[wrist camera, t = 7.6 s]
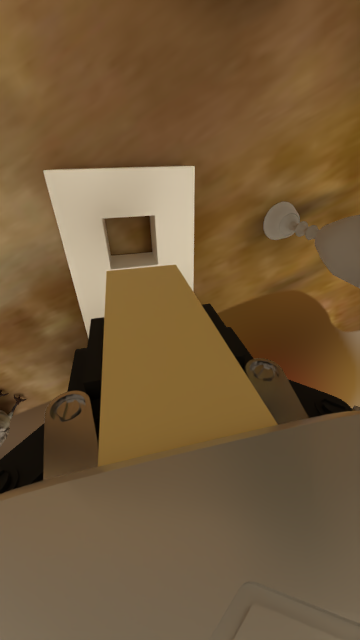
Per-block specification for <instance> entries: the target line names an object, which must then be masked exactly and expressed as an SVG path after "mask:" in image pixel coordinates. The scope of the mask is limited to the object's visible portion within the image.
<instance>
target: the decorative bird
mask: <svg viewBox="0 0 360 640" xmlns="http://www.w3.org/2000/svg"><path fill="white" fill-rule="evenodd" d="M1 391H2V390H1ZM1 391H0V397H1V396H5V395H7V394H8V393H7V394H2V393H1ZM14 398H15V399H16V401H17V402H16V404H15V405H14V407H13V409H12V411H11V412H10V413H9V414H8V415H7V414H6V413H5V412H4V411H3V410H0V446H1V445H2V443H3V442H4V440H5V439H6V437H7V435H8V433H9V425H10V420H11V418H12V415H13V412H14V410H15V408H16V406H17V405H19V402H21V401H25V400H26V399H24V400H23V399H20V396H19V397H18V398H16V397H15V395H14Z"/></svg>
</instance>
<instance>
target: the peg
mask: <svg viewBox="0 0 360 640" xmlns="http://www.w3.org/2000/svg"><path fill="white" fill-rule="evenodd" d="M275 425H278V424H277V422H276V421H275V419H274V418H273V416H272V415H271V413H270V411H269V410H268V408H267V407H266V405H265V404H264V402H263V400H262V399H261V397H260V396H259V394H258V393H257V391H256V389H255V388H254V386H253V385H252V383H251V382H250V380H249V379H248V377H247V375H246V374H245V372H244V371H243V369H242V368H241V366H240V364H239V363H238V361H237V360H236V358H235V357H234V355H233V353H232V352H231V350H230V349H229V347H228V346H227V344H226V342H225V341H224V339H223V338H222V336H221V335H220V333H219V331H218V330H217V328H216V327H215V325H214V324H213V322H212V320H211V319H210V317H209V316H208V314H207V313H206V311H205V309H204V308H203V306H202V305H201V303H200V302H199V300H198V298H197V297H196V295H195V294H194V292H193V291H192V289H191V287H190V286H189V284H188V283H187V281H186V280H185V278H184V277H183V275H182V273H181V272H180V270H179V269H178V267H177V266H176V265H165V266H155V267H144V268H133V269H122V270H112V271H107V272H106V294H105V317H104V339H103V361H102V384H101V406H100V429H99V451H98V467H100V466H104V465H108V464H112V463H116V462H121V461H125V460H129V459H133V458H137V457H141V456H146V455H150V454H154V453H158V452H162V451H167V450H171V449H175V448H180V447H184V446H188V445H192V444H197V443H201V442H205V441H210V440H214V439H218V438H222V437H227V436H231V435H235V434H240V433H244V432H249V431H253V430H257V429H262V428H266V427H270V426H275Z"/></svg>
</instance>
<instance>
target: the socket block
mask: <svg viewBox="0 0 360 640" xmlns="http://www.w3.org/2000/svg"><path fill="white" fill-rule="evenodd" d="M43 172H44V176H45V180H46V183H47V187H48V191H49V194H50V198H51V202H52V206H53V209H54V213H55V217H56V220H57V224H58V228H59V231H60V235H61V239H62V243H63V246H64V250H65V254H66V257H67V261H68V265H69V268H70V272H71V276H72V280H73V283H74V287H75V291H76V294H77V298H78V302H79V306H80V309H81V313H82V317H83V320H84V324H85V328H86V331H87V335H88V339H89V331H90V323H91V319H94V318H101V317H105V294H106V272H107V271H112V270H122V269H133V268H144V267H155V266H165V265H176V266H177V267H178V269H179V270H180V272H181V273H182V275H183V277H184V278H185V280H186V281H187V283H188V284H189V286H190V287H191V289H192V291H193V281H194V182H195V166H152V167H115V168H77V169H50V170H43ZM135 216H150V228H151V240H152V252H147V253H136V254H125V255H114V256H111V253H110V247H109V241H108V236H107V230H106V224H105V218H119V217H135Z"/></svg>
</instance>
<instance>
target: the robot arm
mask: <svg viewBox="0 0 360 640" xmlns="http://www.w3.org/2000/svg"><path fill="white" fill-rule="evenodd" d="M202 306H203V308H204V309H205V311H206V313H207V314H208V316H209V317H210V319H211V320H212V322H213V324H214V325H215V327H216V328H217V330H218V331H219V333H220V335H221V336H222V338H223V339H224V341H225V342H226V344H227V346H228V347H229V349H230V350H231V352H232V353H233V355H234V357H235V358H236V360H237V361H238V363H239V364H240V366H241V368H242V369H243V371H244V372H245V374H246V375H247V377H248V379H249V380H250V382H251V383H252V385H253V386H254V388H255V389H256V391H257V393H258V394H259V396H260V397H261V399H262V400H263V402H264V404H265V405H266V407H267V408H268V410H269V411H270V413H271V415H272V416H273V418H274V419H275V421H276V422H277V424H278V425H275V426H270V427H266V428H262V429H257V430H253V431H249V432H244V433H240V434H235V435H231V436H227V437H222V438H218V439H214V440H210V441H205V442H201V443H197V444H192V445H188V446H184V447H180V448H175V449H171V450H167V451H162V452H158V453H154V454H150V455H146V456H141V457H137V458H133V459H129V460H125V461H121V462H116V463H112V464H108V465H104V466H100V467H98V451H99V429H100V406H101V384H102V361H103V339H104V317H101V318H94V319H91V323H90V331H89V339H88V347H87V348H82V349H77V350H76V351H75V355H74V361H73V366H72V371H71V376H70V382H69V387H68V392H65V393H63V394H61V395H59V396H57V397H56V398H54V399H53V400H52V401H51V402H50V403H49V405H48V406H47V408H46V411H45V418H44V421H45V422H44V424H43V425H42V426H40V427H39V428H38V429H37V430H36V431H34V432H33V433H32V434H31V435H29V436H28V437H27V438H26V439H25V440H23V441H22V442H21V443H20V444H19V445H17V446H16V447H15V448H14V449H13V450H11V451H10V452H9V453H8V454H6V455H5V456H4V457H3V458H2V459H1V460H0V640H360V407H358V406H354V407H353V409H352V408H350V406H349V405H348V404H347V403H345V402H344V401H342V400H341V399H339V398H337V397H334V396H332V395H329V394H327V393H324V392H321V391H318V390H316V389H313V388H310V387H307V386H305V385H302V384H299V383H296V382H294V381H291V380H288V379H287V377H286V375H285V374H284V372H283V370H282V369H281V367H280V366H279V365H277V364H276V363H275V362H273V361H271V360H268V359H263V358H257V359H253V357H252V356H251V354H250V353H249V352H248V351H247V349H246V348H245V346H244V345H243V343H242V342H241V341H240V339H239V338H238V337H237V335H236V334H235V332H234V331H233V330H232V329H231V328H230V327H226V326H225V325H224V323H223V322H222V320H221V319H220V317H219V316H218V314H217V313H216V312H215V310H214V309H213V307H212V306H211V305H210V304H204V305H202Z"/></svg>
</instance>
